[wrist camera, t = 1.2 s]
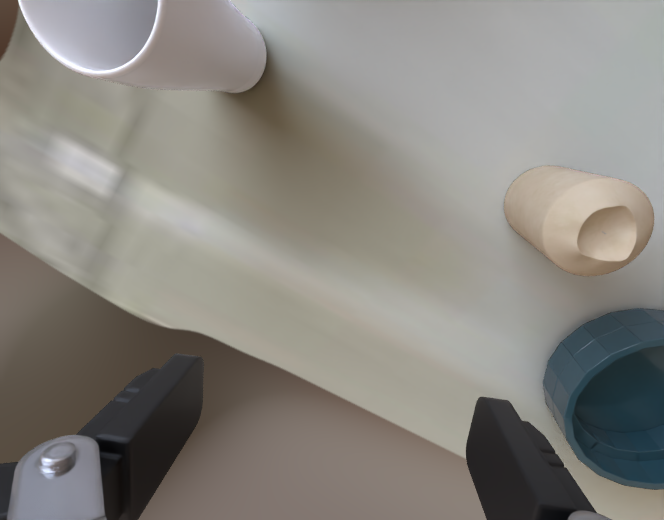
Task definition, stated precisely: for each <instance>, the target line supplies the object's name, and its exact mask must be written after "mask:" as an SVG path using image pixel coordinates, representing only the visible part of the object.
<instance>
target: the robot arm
mask: <svg viewBox="0 0 664 520" xmlns="http://www.w3.org/2000/svg"><path fill="white" fill-rule="evenodd" d="M203 372H204V362H203V359H202V357H198V356H191V355H183V354H174V355H173V356H172V357H171V358H170V359H169V360H168V362H166V363H165V364H164V365H163V366H162V367H161V369H156V368H152V369H151V370H149V371H147V372H145V373H143V374H141V375H139V376H137V377H135V378H134V379H133V380H132V381H131V382H130V383H129V384H128V385H127V386H126V387H125V388H124V391H121V392H120V393H119V394H118V395H117V396H116V397H115V398H114V400H113V401H110V402H109V403H108V404H107V405H106V406H105V407H104V408H103V409H102V410H101V411H100V412H99V413H98V414H97V415H96V416H95V417H94V418H93V419H92V420H91V421H90V422H89V423H87V425H85V426H84V427H83V428H82V429H81V430H80V431H79V432H78V433H77V434H76V435H70V436H63V437H58V438H55V439H52V440H49V441H47V442H45V443H42V444H40V445H38V446H37V447H35V448H33V449H32V450H31V451H29V452H28V453H27V454H26V455H25V456H24V457H22V459H21V460H20V461H19V462H13V463H3V464H0V520H138V519H139V517H140V515H141V514H142V512H143V510H144V509H145V507H146V506H147V504H148V502H149V501H150V499H151V498H152V496H153V495H154V493H155V491H156V490H157V488H158V486H159V485H160V483H161V482H162V480H163V478H164V477H165V475H166V474H167V472H168V470H169V469H170V467H171V465H172V464H173V462H174V461H175V459H176V457H177V455H178V454H179V453H180V451H181V449H182V448H183V446H184V445H185V443H186V441H187V439H188V438H189V436H190V435H191V433H192V432H193V430H194V428H195V427H196V425H197V423H198V420H199V418H200V414H201V410H202V402H203ZM466 459H467V465H468V468H469V471H470V474H471V477H472V479H473V482H474V485H475V488H476V491H477V493H478V496H479V499H480V502H481V505H482V508H483V510H484V513H485V516H486V518H487V520H611V519H609V518H607V517H605V516H603V515H601V514H598V513H597V512H596V511H595V510H594V508H593V507H592V505H591V504H590V502H589V501H588V499H587V498H586V496H585V495H584V493H583V492H582V490H581V489H580V487H579V486H578V484H577V483H576V481H575V480H574V479H573V477H572V476H571V474H570V473H569V471H568V470H567V468H564V464H563V462H562V461H561V459H560V458H559V456H558V455H557V454H555V450H554V449H553V447H552V446H551V445H550V443H549V442H548V440H547V439H546V437H545V436H544V435H543V434H542V433H541V432H540V431H538V430H537V429H536V428H535V427H534V426H533V425H531V424H530V423H529V422H526V421H522V420H521V419H520V417H519V415H518V414H517V412H516V411H515V409H514V407H513V406H512V404H511V403H510V402H509V401H508V400H502V399H495V398H487V397H479V398H478V400H477V403H476V406H475V411H474V415H473V419H472V423H471V427H470V431H469V436H468V440H467V445H466Z"/></svg>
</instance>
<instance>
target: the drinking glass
mask: <svg viewBox="0 0 664 520" xmlns="http://www.w3.org/2000/svg"><path fill="white" fill-rule="evenodd" d="M18 2H19V5H20V8H21V11H22V13H23V15H24V18H25V20H26V22H27V24H28V26H29V27H30V29H31V31H32V32H33V34H34V35H35V37H36V38H37V40H38V41H39V42H40V44H41V45H42V46H43V47H44V48H45V49H46V51H47V52H48V53H49V54H50V55H51V56H52V57H54V58H55V59H56V60H57V61H58V62H60V63H61V64H63V65H64V66H66V67H67V68H69V69H71V70H73V71H75V72H77V73H79V74H82V75H85V76H88V77H93V78H97V79H101V80H104V81H109V82H113V83H117V84H122V85H127V86H132V87H139V88H146V89H157V90H196V91H222V92H227V93H241V92H244V91H247V90H249V89H250V88H252V87H253V86H254V85H255V84H256V83H257V82H258V81H259V80H260V78H261V76H262V74H263V72H264V69H265V66H266V58H267V54H266V46H265V42H264V39H263V37H262V35H261V33H260V31H259V30H258V28H257V27H256V26H255V24H254V23H253V22H252V21H250V20H249V19H248V18H247V17H246V16H244V15H243V14H242V13H241V12H240V11H239V10H238V9H237V7H236V6H235V5H234V4H233V3H232V2H231V1H230V0H18Z"/></svg>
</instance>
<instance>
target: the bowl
mask: <svg viewBox="0 0 664 520" xmlns="http://www.w3.org/2000/svg"><path fill="white" fill-rule="evenodd" d="M543 387H544V393H545V400H546V404H547V406H548V407H549V409H550V411H551V413H552V415H553V417H554V418H555V420H556V422H557V424H558V426H559V427H560V429H561V431H562V433H563V435H564V436H565V438H566V440H567V442H568V443H569V445H570V447H571V448H572V450H573V451H574V453H575V455H576V456H577V458H578V459H579V460H580V461H581V462H582V463H584V464H585V465H586V466H588V467H589V468H590V469H591V470H593V471H594V472H595V473H596V474H598V475H599V476H602V477H604V478H607V479H609V480H612V481H614V482H617V483H619V484H622V485H625V486H631V487H638V488H645V489H652V490H653V489H654V490H658V489H664V310H653V309H641V308H640V309H639V308H637V309H631V310H625V311H619V312H613V313H609V314H606V315H604V316H602V317H599V318H597V319H595V320H593V321H590V322H588V323H586V324H583V326H581V327H579V328H578V329H577V330H576V331H574V332H573V333H572V334H571V335H569V336H568V337H567V338H566V339H564V340H563V341H562V342H561V343H560V345H559V346H558V348H557V349H556V350H555V352H554V353H553V355H552V356H551V358H550V359H549V361H548V364H547V368H546V372H545V376H544V380H543Z"/></svg>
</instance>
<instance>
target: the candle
mask: <svg viewBox="0 0 664 520" xmlns="http://www.w3.org/2000/svg"><path fill="white" fill-rule="evenodd" d="M504 212H505V216H506V218H507V221H508V222H509V224H510V226H511V227H512V228H513V229H514V230H515V231H516V232H517V233H518V234H520V235H521V236H522V237H523V238H524V239H526V240H527V241H528V242H529V243H530V244H532V245H533V246H534V247H535V248H536V249H538V250H539V251H540V252H541V253H542V254H544V255H545V256H546V257H547V258H548V259H550V260H551V261H552V262H553V263H554V264H556V265H557V266H558V267H560V268H561V269H563V270H565V271H567V272H569V273H572V274H576V275H581V276H597V275H603V274H607V273H610V272H613V271H616V270H618V269H620V268H622V267H624V266H625V265H627V264H629V263H630V262H631V261H632V260H634V259H635V258H636V257H637V256H638V255H639V254H640V253H641V252H642V250H643V249H644V248H645V246H646V245H647V243H648V241H649V239H650V237H651V234H652V231H653V226H654V212H653V208H652V205H651V203H650V201H649V199H648V197H647V196H646V195H645V193H644V192H643V191H642V190H641V189H639V188H638V187H637V186H635V185H633V184H631V183H629V182H627V181H624V180H620V179H616V178H611V177H607V176H602V175H597V174H593V173H588V172H583V171H578V170H574V169H569V168H564V167H559V166H541V167H536V168H533V169H530V170H528V171H526V172H525V173H523V174H522V175H520V176H519V177H518V178H517V179H516V180H515V181H514V182H513V183H512V184H511V186H510V187H509V189H508V191H507V193H506V196H505V201H504Z"/></svg>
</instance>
